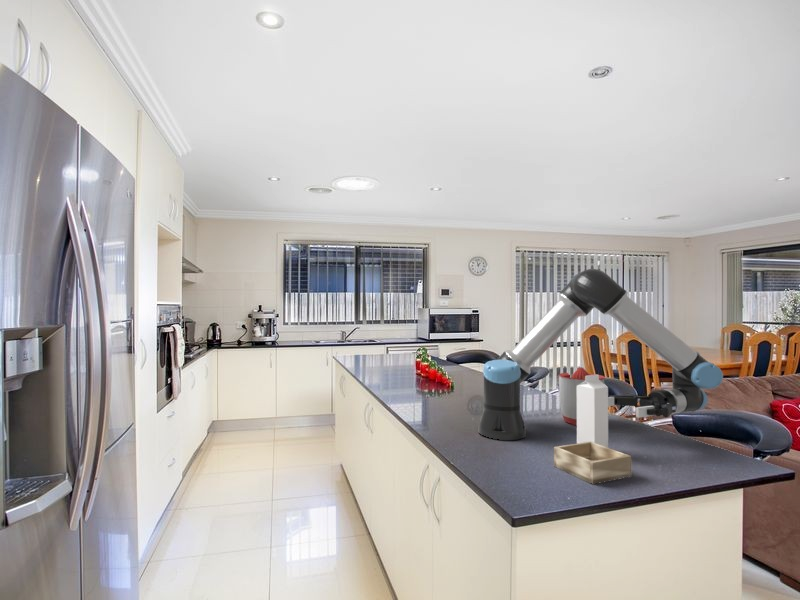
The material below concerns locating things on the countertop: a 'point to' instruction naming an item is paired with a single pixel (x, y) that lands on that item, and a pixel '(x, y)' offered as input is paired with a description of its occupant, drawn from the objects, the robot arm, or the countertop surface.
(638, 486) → the countertop surface
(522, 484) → the countertop surface
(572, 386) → the citrus juicer
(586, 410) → the milk
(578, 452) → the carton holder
